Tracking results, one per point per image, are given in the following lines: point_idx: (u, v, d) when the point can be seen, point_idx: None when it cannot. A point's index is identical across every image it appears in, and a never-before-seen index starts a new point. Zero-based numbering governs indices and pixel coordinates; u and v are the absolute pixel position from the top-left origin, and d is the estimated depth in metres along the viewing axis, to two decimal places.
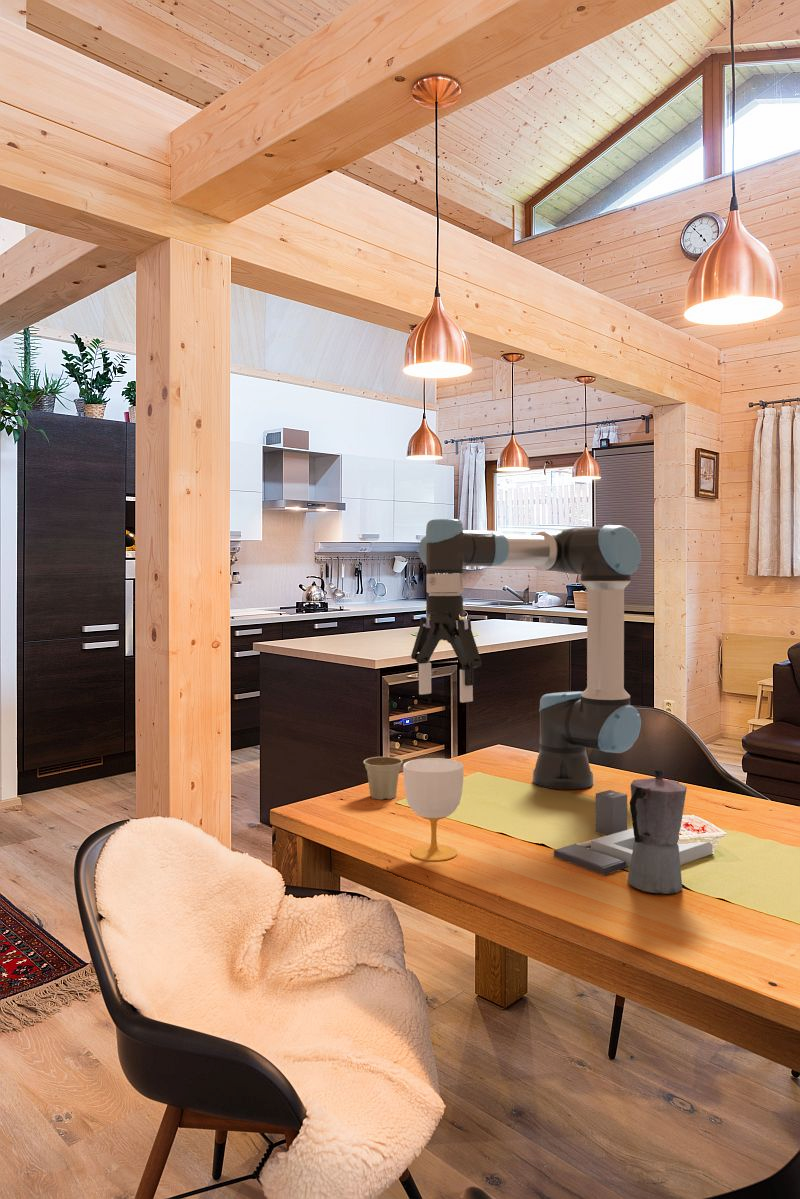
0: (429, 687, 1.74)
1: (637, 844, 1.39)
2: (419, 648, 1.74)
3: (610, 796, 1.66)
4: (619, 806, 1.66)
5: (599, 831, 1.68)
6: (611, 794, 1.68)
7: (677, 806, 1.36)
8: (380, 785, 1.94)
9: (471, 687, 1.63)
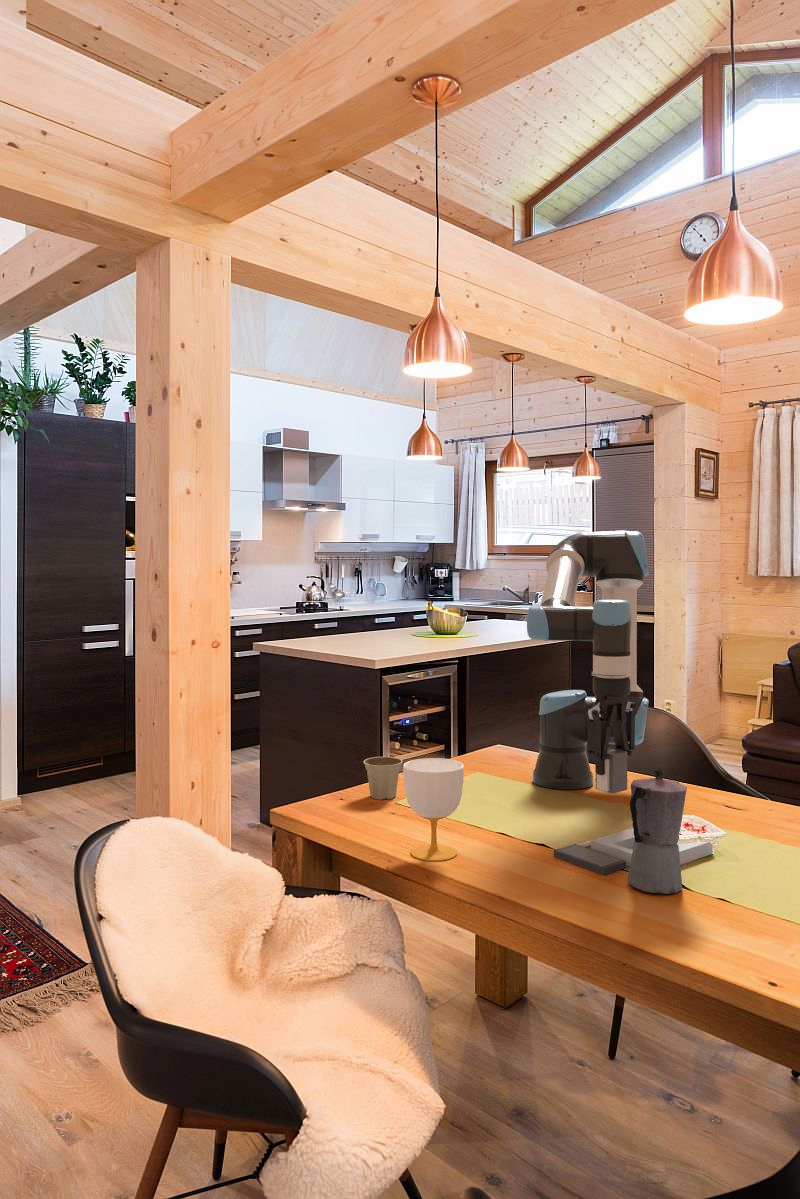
0: None
1: (637, 844, 1.39)
2: None
3: (610, 753, 1.67)
4: (619, 762, 1.67)
5: None
6: (611, 751, 1.68)
7: (677, 806, 1.36)
8: (380, 785, 1.94)
9: (605, 777, 1.66)
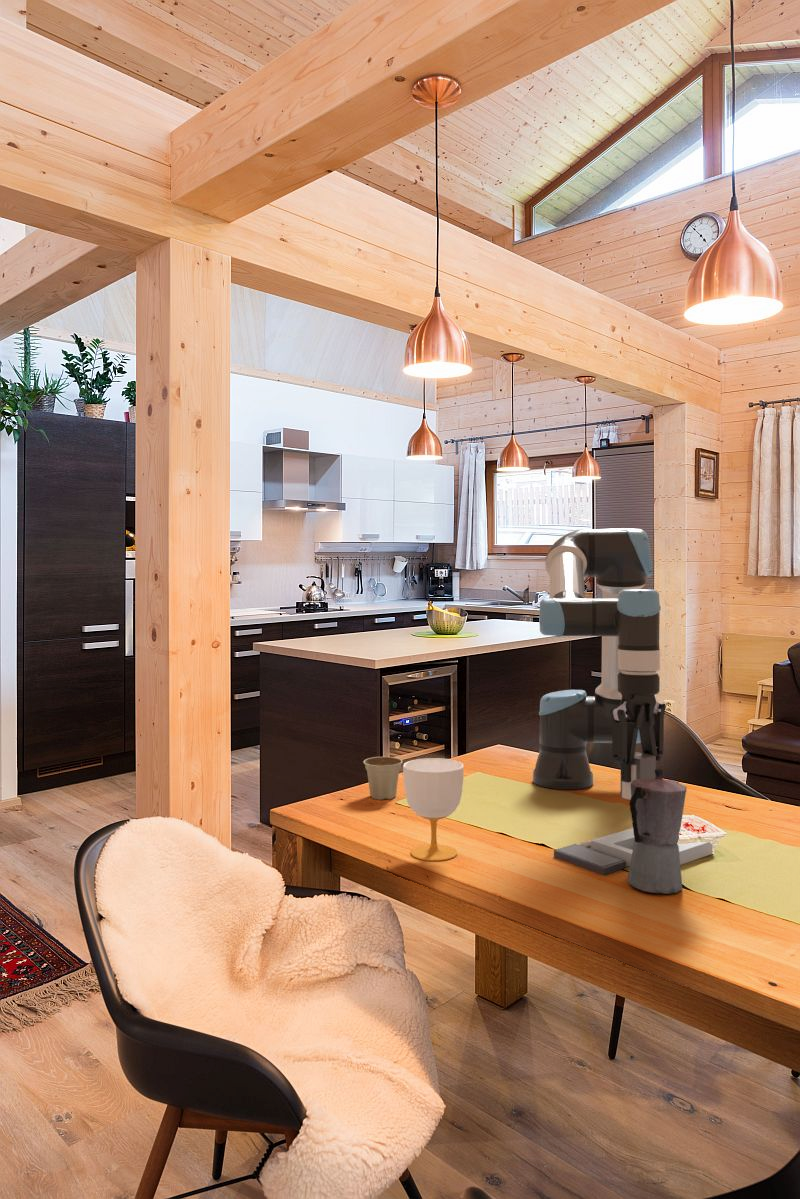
0: None
1: (637, 844, 1.39)
2: None
3: (637, 757, 1.51)
4: (647, 768, 1.51)
5: None
6: (638, 755, 1.52)
7: (677, 805, 1.36)
8: (380, 785, 1.94)
9: None
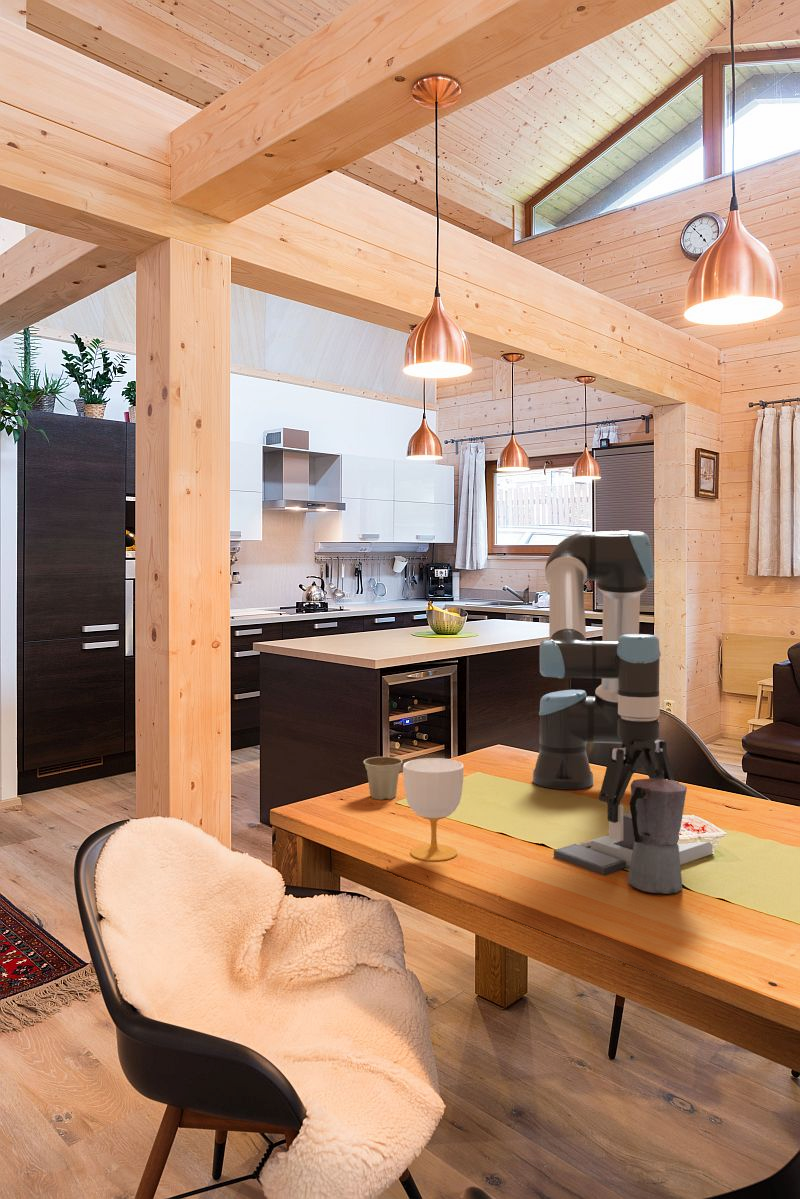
0: None
1: (637, 844, 1.39)
2: None
3: None
4: None
5: None
6: None
7: (677, 806, 1.36)
8: (380, 785, 1.94)
9: (619, 825, 1.48)
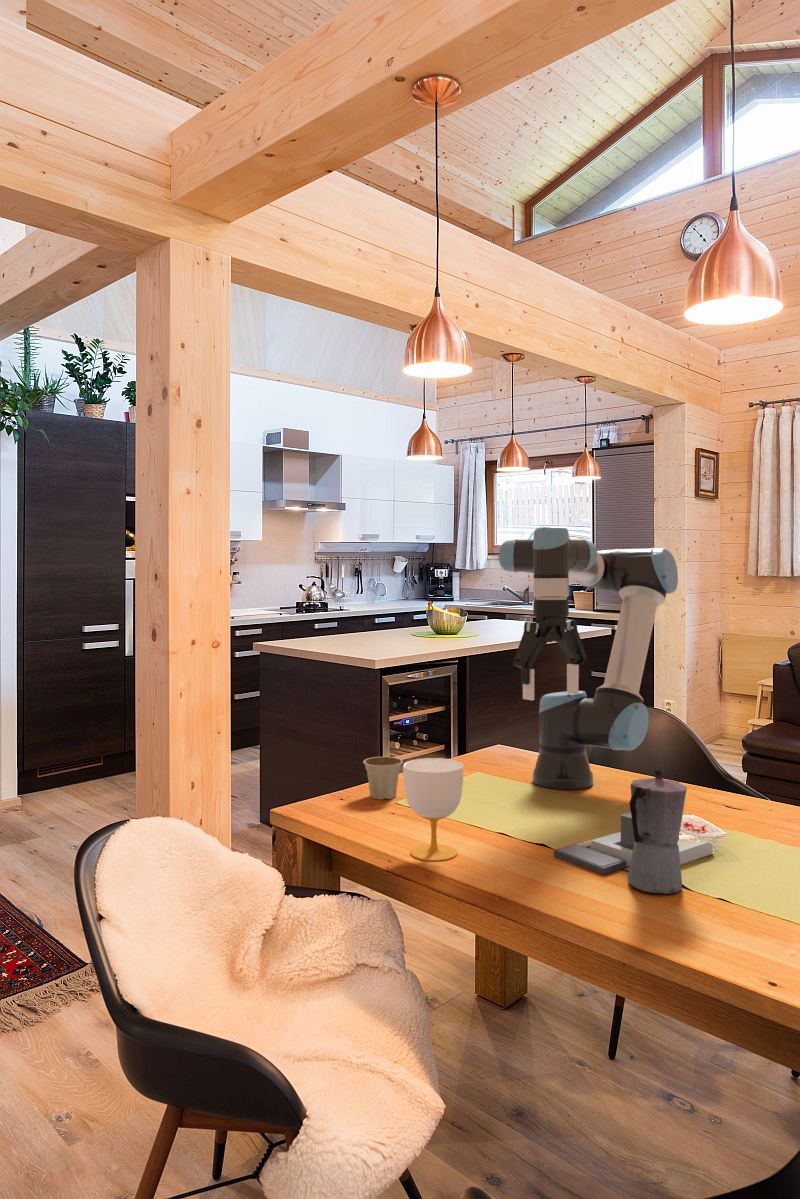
0: (574, 688, 1.80)
1: (637, 844, 1.39)
2: None
3: None
4: None
5: None
6: None
7: (677, 805, 1.36)
8: (380, 785, 1.94)
9: (530, 687, 1.72)
